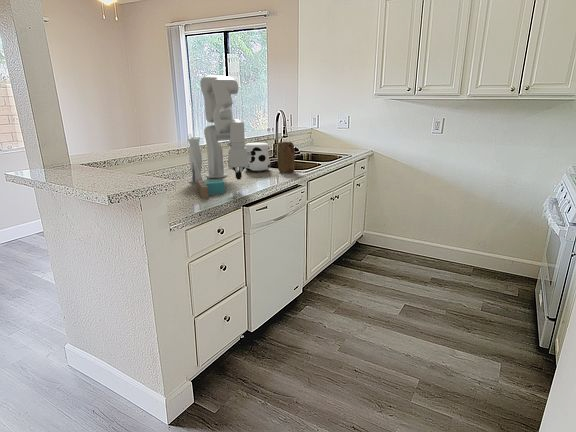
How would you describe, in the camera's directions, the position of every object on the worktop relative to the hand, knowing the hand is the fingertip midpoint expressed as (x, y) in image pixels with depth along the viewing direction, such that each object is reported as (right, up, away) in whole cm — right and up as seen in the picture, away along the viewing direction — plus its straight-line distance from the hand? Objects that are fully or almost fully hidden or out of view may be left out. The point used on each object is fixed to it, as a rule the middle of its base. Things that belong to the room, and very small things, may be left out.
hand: (238, 179), depth 206 cm
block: (+26, +9, +47) cm, 54 cm away
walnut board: (-18, -8, -6) cm, 21 cm away
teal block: (-13, -7, -2) cm, 15 cm away
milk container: (+6, +10, +52) cm, 53 cm away
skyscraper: (-27, 0, +20) cm, 34 cm away
